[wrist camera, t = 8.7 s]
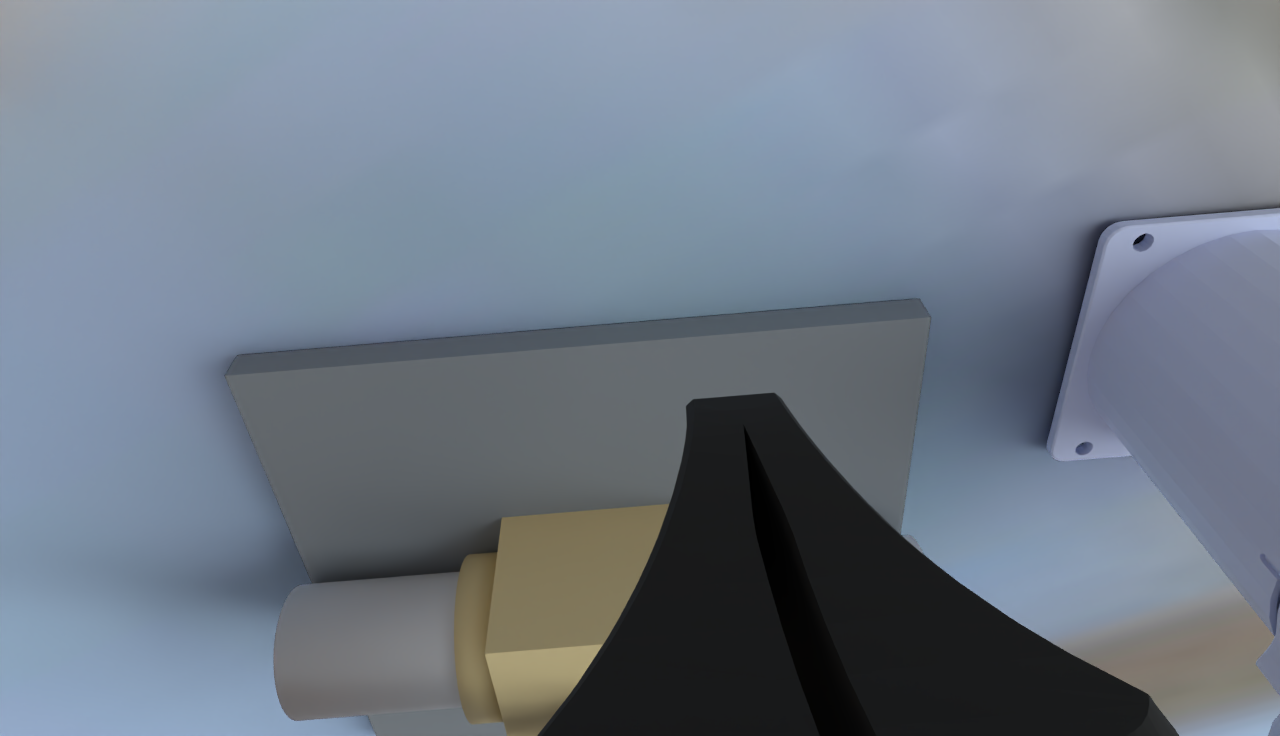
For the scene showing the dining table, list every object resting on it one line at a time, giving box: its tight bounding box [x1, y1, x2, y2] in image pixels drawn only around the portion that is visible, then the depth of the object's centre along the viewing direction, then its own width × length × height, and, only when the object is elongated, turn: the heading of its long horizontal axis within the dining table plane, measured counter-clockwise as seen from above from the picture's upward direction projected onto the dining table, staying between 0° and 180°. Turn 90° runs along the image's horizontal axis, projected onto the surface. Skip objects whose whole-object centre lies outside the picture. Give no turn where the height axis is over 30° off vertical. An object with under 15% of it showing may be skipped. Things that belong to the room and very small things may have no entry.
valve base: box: [225, 299, 931, 736], centre depth 26 cm, size 19×18×7 cm
